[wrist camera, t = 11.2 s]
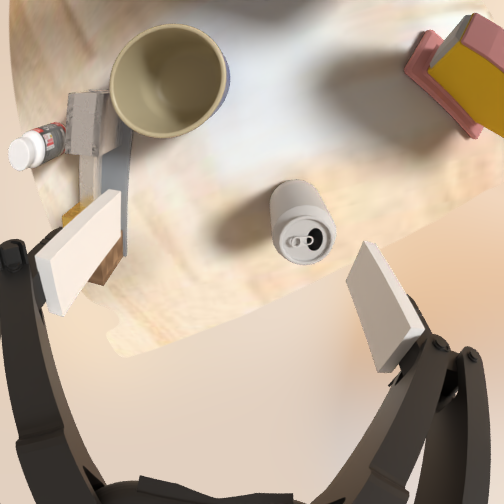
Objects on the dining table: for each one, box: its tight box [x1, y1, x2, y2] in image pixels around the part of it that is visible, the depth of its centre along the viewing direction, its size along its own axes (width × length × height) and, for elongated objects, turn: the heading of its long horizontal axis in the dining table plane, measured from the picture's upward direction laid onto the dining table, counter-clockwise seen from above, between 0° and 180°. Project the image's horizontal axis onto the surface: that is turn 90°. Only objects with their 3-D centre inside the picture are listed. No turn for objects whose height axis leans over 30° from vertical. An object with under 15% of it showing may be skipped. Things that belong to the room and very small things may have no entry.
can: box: [269, 179, 336, 265], centre depth 37 cm, size 8×8×12 cm
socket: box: [87, 230, 123, 286], centre depth 42 cm, size 5×7×9 cm
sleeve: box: [65, 90, 124, 157], centre depth 32 cm, size 8×5×8 cm
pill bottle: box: [8, 122, 66, 171], centre depth 32 cm, size 6×6×10 cm
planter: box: [109, 24, 230, 138], centre depth 29 cm, size 12×12×11 cm
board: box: [89, 90, 133, 257], centre depth 40 cm, size 27×8×1 cm, turn 168°
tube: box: [62, 155, 102, 228], centre depth 35 cm, size 22×4×8 cm, turn 168°
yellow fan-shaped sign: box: [404, 13, 504, 139], centre depth 22 cm, size 22×9×22 cm, turn 62°
